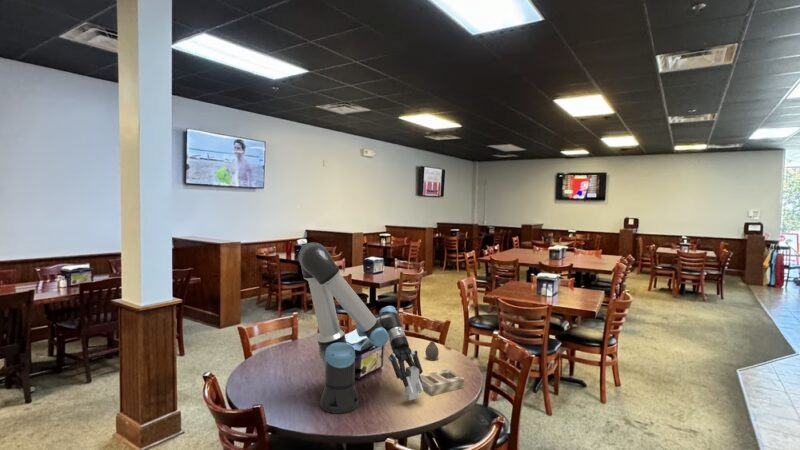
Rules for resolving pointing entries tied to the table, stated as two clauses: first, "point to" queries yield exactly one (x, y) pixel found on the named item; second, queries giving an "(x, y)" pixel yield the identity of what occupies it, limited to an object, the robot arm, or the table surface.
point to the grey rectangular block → (412, 382)
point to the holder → (441, 382)
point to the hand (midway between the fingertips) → (416, 392)
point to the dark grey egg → (431, 351)
